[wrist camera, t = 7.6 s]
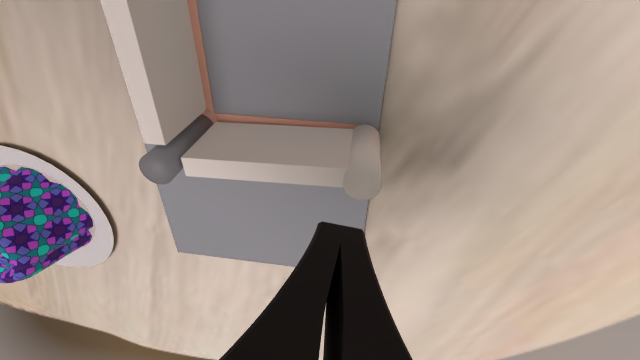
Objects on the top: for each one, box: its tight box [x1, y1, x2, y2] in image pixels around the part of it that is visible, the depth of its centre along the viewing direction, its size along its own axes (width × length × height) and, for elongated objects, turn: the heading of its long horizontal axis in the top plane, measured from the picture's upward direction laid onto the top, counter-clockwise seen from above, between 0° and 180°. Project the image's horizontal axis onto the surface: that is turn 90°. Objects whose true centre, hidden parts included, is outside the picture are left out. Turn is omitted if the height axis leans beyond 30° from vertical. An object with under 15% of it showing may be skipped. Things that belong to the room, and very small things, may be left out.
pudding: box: [0, 146, 114, 283], centre depth 23 cm, size 12×12×5 cm
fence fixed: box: [100, 0, 213, 185], centre depth 14 cm, size 11×2×5 cm, turn 178°
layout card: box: [105, 0, 397, 267], centre depth 19 cm, size 22×14×1 cm, turn 178°
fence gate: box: [181, 122, 381, 200], centre depth 16 cm, size 9×2×4 cm, turn 90°
